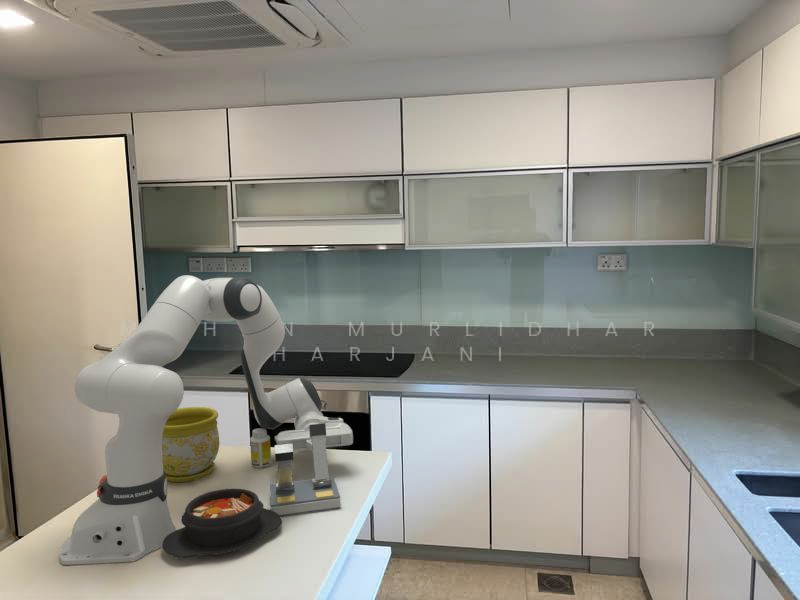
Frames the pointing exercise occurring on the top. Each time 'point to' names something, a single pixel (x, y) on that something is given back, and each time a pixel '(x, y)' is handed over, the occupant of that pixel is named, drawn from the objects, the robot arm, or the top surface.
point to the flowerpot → (190, 443)
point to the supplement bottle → (260, 448)
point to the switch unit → (305, 498)
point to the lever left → (284, 467)
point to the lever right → (319, 455)
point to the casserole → (221, 524)
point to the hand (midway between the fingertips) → (317, 448)
